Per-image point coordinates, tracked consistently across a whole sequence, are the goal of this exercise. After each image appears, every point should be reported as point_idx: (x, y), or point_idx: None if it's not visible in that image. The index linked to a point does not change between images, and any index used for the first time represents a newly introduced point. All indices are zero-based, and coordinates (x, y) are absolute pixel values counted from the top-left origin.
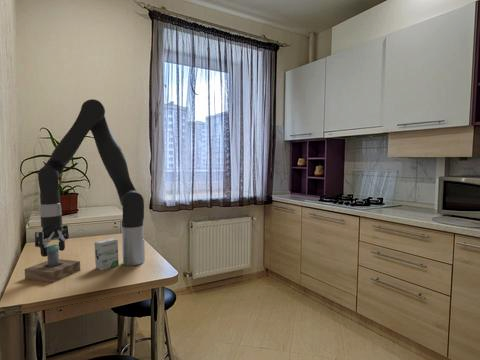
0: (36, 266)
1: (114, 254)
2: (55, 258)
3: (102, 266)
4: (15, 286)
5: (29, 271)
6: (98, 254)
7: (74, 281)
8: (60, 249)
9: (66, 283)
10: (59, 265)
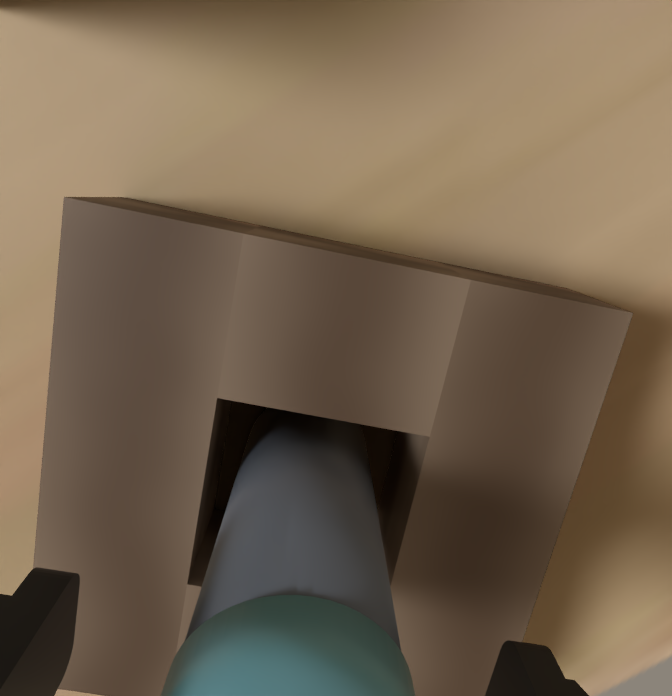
0: None
1: None
2: (345, 517)
3: None
4: (655, 601)
5: None
6: None
7: (533, 23)
8: (64, 646)
9: (600, 95)
10: (318, 410)
